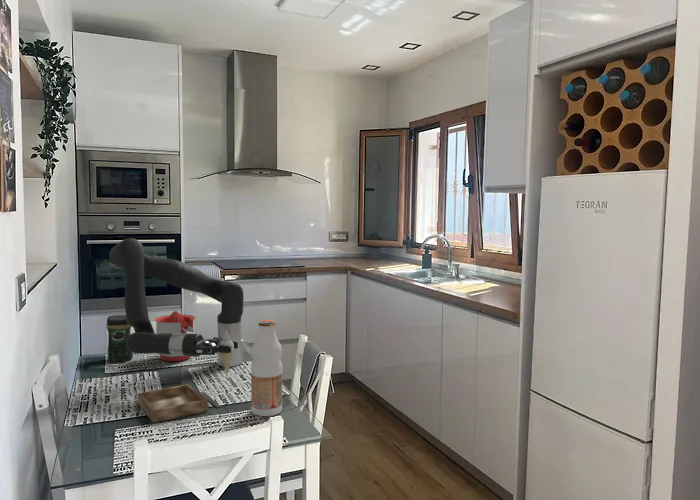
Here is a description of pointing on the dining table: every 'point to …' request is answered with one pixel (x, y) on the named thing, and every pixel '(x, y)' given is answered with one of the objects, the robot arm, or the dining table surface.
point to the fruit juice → (266, 372)
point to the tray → (174, 402)
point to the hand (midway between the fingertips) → (234, 347)
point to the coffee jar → (118, 338)
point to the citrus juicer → (175, 330)
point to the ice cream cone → (227, 356)
